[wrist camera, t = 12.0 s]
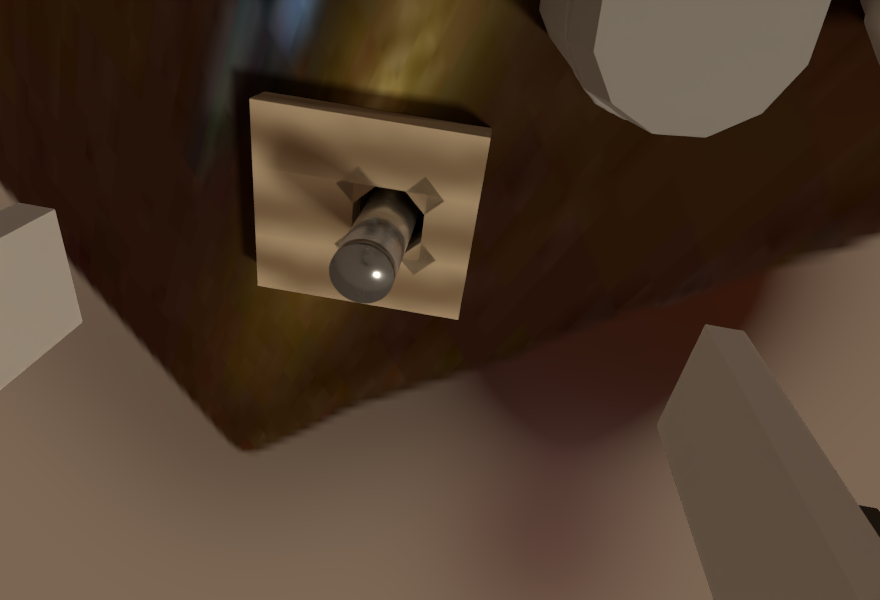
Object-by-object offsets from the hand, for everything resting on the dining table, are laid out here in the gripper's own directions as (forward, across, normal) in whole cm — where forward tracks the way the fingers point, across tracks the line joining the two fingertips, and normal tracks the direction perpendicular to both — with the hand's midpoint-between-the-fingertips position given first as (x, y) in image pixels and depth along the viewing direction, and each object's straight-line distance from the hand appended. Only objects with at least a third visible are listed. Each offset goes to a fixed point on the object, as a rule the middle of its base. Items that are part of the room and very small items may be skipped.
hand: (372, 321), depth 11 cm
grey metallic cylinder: (+34, -4, -12) cm, 36 cm away
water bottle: (+34, +8, +6) cm, 36 cm away
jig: (+34, -6, -12) cm, 37 cm away
